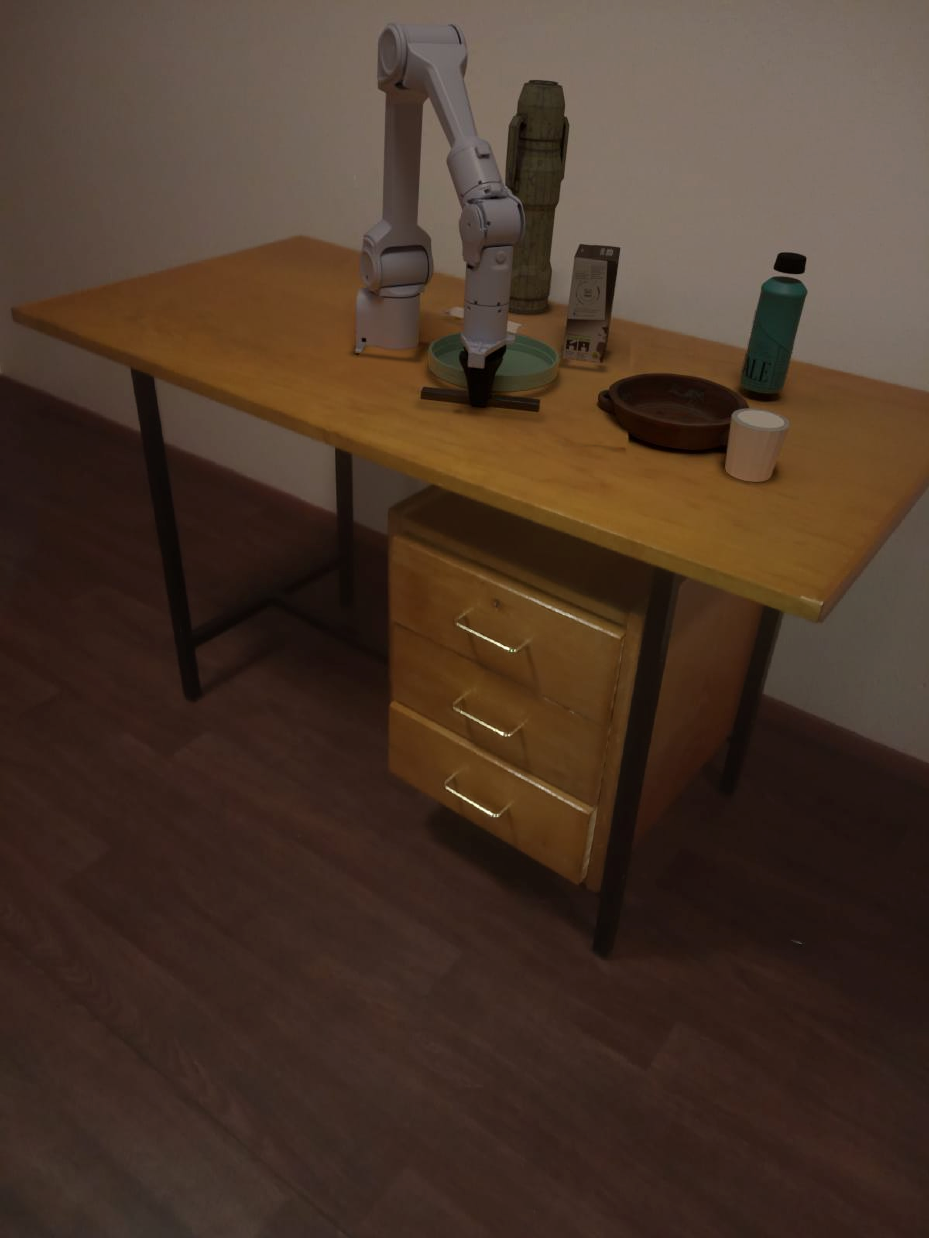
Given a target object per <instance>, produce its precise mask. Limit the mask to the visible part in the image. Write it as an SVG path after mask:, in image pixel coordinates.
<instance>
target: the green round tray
mask: <svg viewBox="0 0 929 1238" xmlns="http://www.w3.org/2000/svg"><path fill="white" fill-rule="evenodd" d="M461 332H462V331H461ZM461 332H455V333H450V334H446V335H443V336H441V337H438V338H436V339H435V340H433V341H432V342H431V343H430V344H429V347H428V352H427V354H428V355H427V364H428V369H429V370H430V372H432V374H433V375H434V376H435V377H437V378H439V379H441V380H443V381H445V382H447V383H449V384H452V385H455V386H458V387H462V388H467V389H468V385H467V380H466V376H465V373H464V370H463V368H462V366H461V364H460V361H459V354H460V352H461V351H464V349H463V347H464V344H463V343H462V341H461ZM507 334H509V335H515V336H516V338H515V343H514V344H513V345H508V344H506V346H507V350H506V352H505V354H504V356H503V357H502V358H503V361H502V363H501V365H500V367H499V368H498V370H497V372H496V374H495V379H494V383H493V387H492V391H491V392H501V393H502V392H506V393H513V392H523V391H528V390H535V389H538V388H542V387H544V386H546V385H548V384H551V383H552V382H553V381H554V380H556V378H557V376H558V371H559V363H560V355H559V352H558V351H557V349H555V348H554V347H552V346H551V345H550V344H548V343H547V342H543V341H542V340H540V339H537V338H533V337H530V336H527V335H523V334H517V333H513V332H507Z"/></svg>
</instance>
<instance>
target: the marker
mask: <svg viewBox="0 0 929 1238" xmlns="http://www.w3.org/2000/svg"><path fill="white" fill-rule="evenodd" d="M442 313H444V314H445V315H450V316H454V317H457V318H461V319H463V314H464V307H460V306H454V307H453V308H449V309H444V310H442ZM522 331H524V325H523V324H521V323H518V322H513V321H511V320H508V323H507V332H508V333H513V334H517V333H520V332H522Z"/></svg>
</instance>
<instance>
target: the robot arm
mask: <svg viewBox="0 0 929 1238" xmlns="http://www.w3.org/2000/svg"><path fill="white" fill-rule="evenodd" d="M468 56H469V53H468V47H467V41H466V38H465V35H464V33H463V31H462V29H461V27H460V26H459V25H457V24H455V23H450V24H421V23H419V24H418V23H399V22H397V21H390V22H389V23H387V24H386V25H385V27H384V29H383V30H382V32H381V34H380V35H379V37H378V42H377V67H376V68H377V69H376V71H377V72H376V73H377V74H376V78H377V89H378V90H379V91H381V92H383V93H385V100H384V101H385V102H384V104H385V107H384V110H385V111H384V138H383V139H384V140H383V141H384V142H383V173H382V174H383V175H382V176H383V177H382V180H383V181H382V186H383V187H382V213H381V214H382V215H381V216H382V217H381V219H380V220H379V221H378V222H377V223H376V224H374V226H372V227H371V228H370V229H368V230H367V231H366V232H365V233H364V234H363V239H362V247H361V252H360V254H359V260H358V267H359V268H358V269H359V275H360V278H361V281H362V283H363V285H364V286H365V287H360V288H359V290H358V293H357V296H356V302H355V349H354V353H355V354H359V355H360V354H361V353H362V351H363V349H364V348H365V347H372V348H378V349H383V350H387V351H388V350H389V351H407V350H412V349H414V348H417V347H418V346H419V344H420V342H419V341H420V315H421V294H422V293H425V290H426V289H425V288H426V287H427V286H428V285H429V284H430V283H431V280H432V278H433V275H434V271H435V264H434V257H433V252H432V251H433V250H432V238H431V236H430V235H429V233H428V232H427V231H426V230H424V228H422V226H420V225H419V224H418V221H419V219H418V218H419V200H420V199H419V198H420V179H421V178H420V176H421V175H420V174H421V159H422V158H421V156H422V136H423V134H422V133H423V114H424V104H425V102H426V101H427V100H428V99H429V100H430V103H431V106H432V108H433V110H434V112H435V114H436V117H437V119H438V122H439V124H440V126H441V128H442V131H443V133H444V135H445V137H446V139H447V142H448V144H449V147H450V150H449V152H448V154H447V157H446V160H445V161H446V165H447V170H448V172H449V175H450V178H451V181H452V184H453V187H454V190H455V192H456V197H457V199H458V202H459V205H460V207H461V213H460V218H459V219H458V229H459V230H458V231H459V236H460V240H461V245H462V246H461V247H462V252H461V255H462V260H463V262H465V279H464V297H463V308H464V314H463V318H462V331H461V341H462V343H463V344H464V347H463V349H464V351H461V352H460V354H459V361H460V364H461V366H462V368H463V370H464V373H465V376H466V380H467V385H468V388H467V391H468V392H469V399H470V403H471V405H470V406H472V407H481V408H487V406H486V405H487V403H488V400H489V396H490V394H492V392H493V391H492V387H493V383H494V379H495V374H496V372H497V370H498V368H499V367H500V365H501V363H502V361H503V358H502V357H503V356H504V354H505V352H506V350H507V346H506V344H508V345H513V344H514V343H515V338H516V336H515V335H509V334H507V333H508V331H507V323H508V321H509V299H510V287H511V274H512V262H513V250H514V248H513V247H515V246H518V245H519V244H520V243H521V241H522V239H523V236H524V232H525V214H524V210H523V206H522V203H521V201H520V200H519V199H518V198H517V197H516V196H514V195H513V194H512V192H511V190H509V189H507V187H506V186H505V183H504V181H503V178H502V175H501V172H500V169H499V166H498V163H497V161H496V158H495V155H494V151H493V149H492V146H491V144H490V142H488V141H487V140H486V139H483V138H480V137H479V136H478V135H479V134H478V132H477V128H476V124H475V119H474V115H473V111H472V106H471V104H470V103H471V102H470V99H469V95H468V91H467V86H466V83H465V76H466V72H467V67H468V60H469V59H468V58H469V57H468Z"/></svg>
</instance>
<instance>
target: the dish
mask: <svg viewBox="0 0 929 1238" xmlns="http://www.w3.org/2000/svg"><path fill="white" fill-rule="evenodd" d="M597 405H598V407H599V408H600V409H602V410H603V411H606V412H608V413H610V414H612V415H614V416H615V417H616V420H617V423H618V424H619V426H621V428H623V429H624V430H625V431H627V432H628V434H630V435H631V436H633V437H634V438H636V439H639V440H642V441H643V442H647V443H649V444H653V445H657V446H661V447H666V448H670V449H671V448H672V449H675V450H676V449H677V450H684V451H685V450H686V451H687V450H691V451H699V450H700V451H701V450H709V449H714V448H718V447H720V446H725V447H728V440H729V432H730V425H731V417H732V414H733V413H734V412H735V411H737V410H740V409H748V408H750V406H749V403H748V402H747V400H746V399H744V398H743V396H742V395H741V394H739V393H738V392H737V391H734V390H732V389H731V388H729V387H727V386H726V385H722V384H720V383H717V382H715V381H712V380H709V379H706V378H703V377H699V376H694V375H686V374H680V373H678V374H677V373H667V372H651V373H650V372H649V373H640V374H636V375H630V376H627V377H624V378H621V379H619V380H616V381H615V382H614V383H612V384H611V385H609V388H608V389H604V390H601V391H600V392H599V393H598V394H597Z"/></svg>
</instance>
